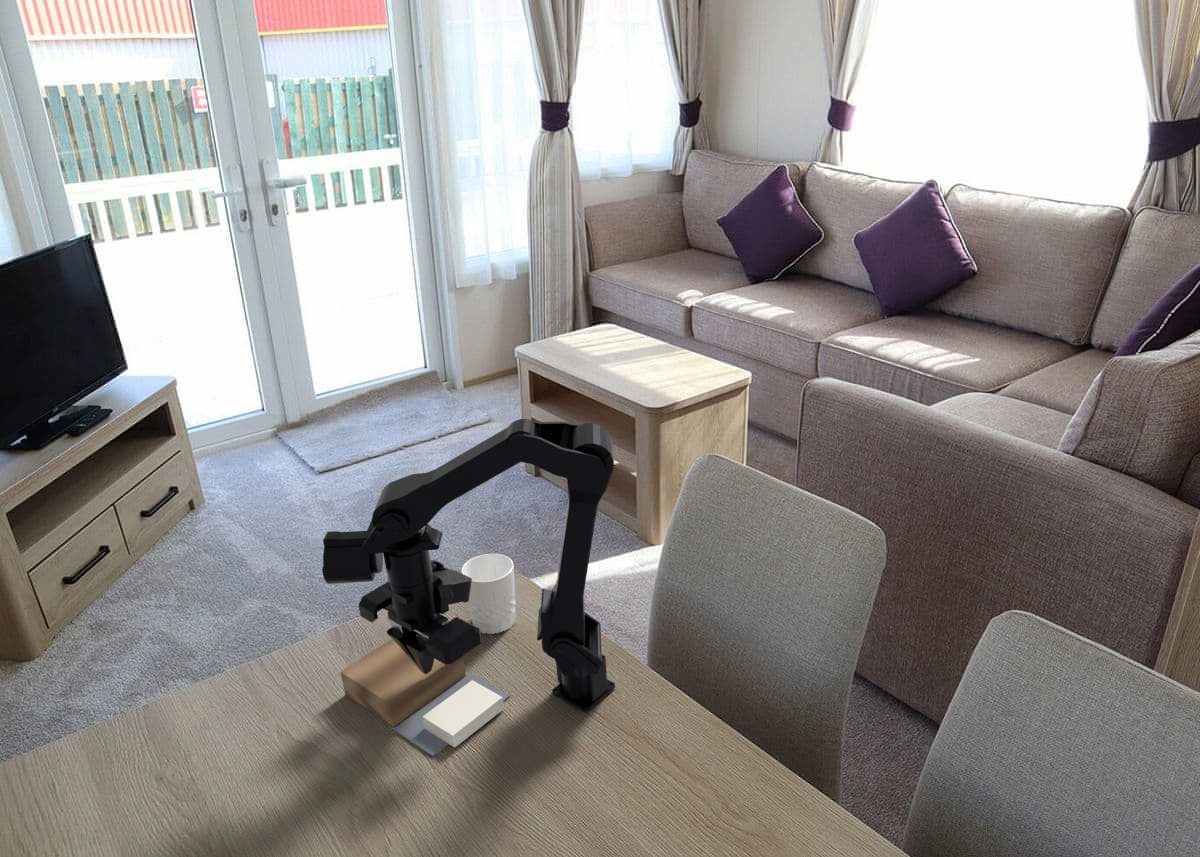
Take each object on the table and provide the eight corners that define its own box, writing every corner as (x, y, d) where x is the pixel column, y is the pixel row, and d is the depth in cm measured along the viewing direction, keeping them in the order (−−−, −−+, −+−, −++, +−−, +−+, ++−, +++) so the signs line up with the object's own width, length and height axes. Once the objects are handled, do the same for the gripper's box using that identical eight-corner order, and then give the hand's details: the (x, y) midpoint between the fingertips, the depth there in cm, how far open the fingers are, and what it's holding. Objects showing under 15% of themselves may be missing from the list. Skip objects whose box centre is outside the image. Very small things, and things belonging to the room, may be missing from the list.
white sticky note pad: (472, 680, 128) (473, 691, 129) (422, 716, 122) (424, 728, 123) (502, 697, 125) (504, 708, 125) (452, 735, 118) (454, 747, 119)
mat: (510, 697, 128) (509, 695, 128) (432, 756, 118) (432, 755, 118) (470, 674, 133) (470, 673, 133) (393, 730, 123) (393, 728, 123)
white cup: (501, 600, 149) (494, 547, 145) (529, 621, 144) (523, 567, 140) (459, 621, 145) (451, 567, 141) (487, 643, 139) (479, 588, 135)
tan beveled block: (465, 675, 133) (462, 652, 131) (394, 726, 124) (389, 703, 122) (416, 647, 139) (412, 625, 138) (345, 694, 131) (340, 671, 129)
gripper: (504, 569, 120) (516, 666, 126) (412, 528, 131) (427, 618, 137) (439, 611, 112) (455, 712, 119) (347, 563, 123) (366, 657, 130)
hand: (426, 671), depth 126 cm, fingers closed
